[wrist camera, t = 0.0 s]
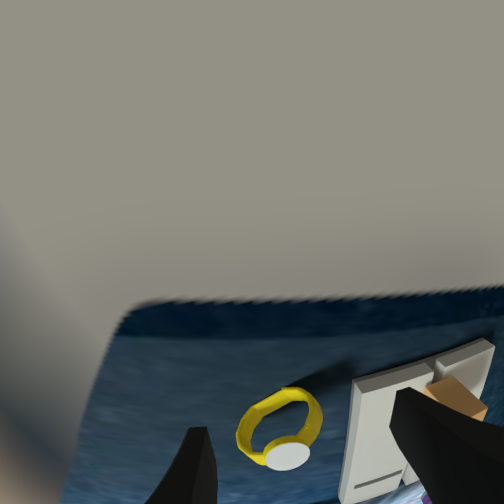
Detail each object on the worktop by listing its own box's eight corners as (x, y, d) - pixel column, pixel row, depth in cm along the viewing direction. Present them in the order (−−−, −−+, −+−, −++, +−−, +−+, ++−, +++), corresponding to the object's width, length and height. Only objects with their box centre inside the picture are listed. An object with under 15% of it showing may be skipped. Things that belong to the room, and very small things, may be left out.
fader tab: (434, 401, 23) (472, 444, 16) (407, 411, 22) (443, 459, 16) (442, 366, 22) (487, 407, 15) (415, 376, 22) (458, 423, 15)
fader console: (443, 455, 26) (451, 465, 24) (337, 494, 25) (342, 507, 23) (482, 337, 23) (495, 346, 21) (352, 378, 22) (362, 394, 20)
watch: (294, 368, 21) (323, 418, 15) (312, 391, 22) (342, 440, 16) (226, 411, 21) (235, 468, 15) (247, 431, 22) (261, 486, 16)
